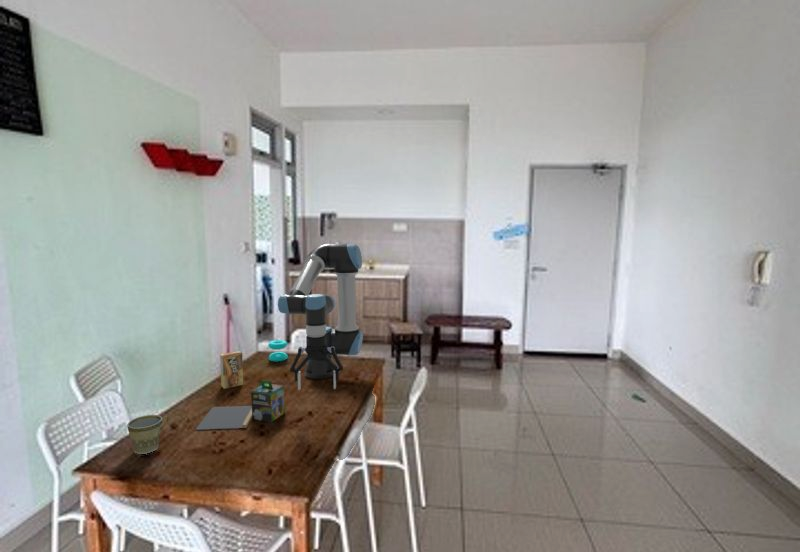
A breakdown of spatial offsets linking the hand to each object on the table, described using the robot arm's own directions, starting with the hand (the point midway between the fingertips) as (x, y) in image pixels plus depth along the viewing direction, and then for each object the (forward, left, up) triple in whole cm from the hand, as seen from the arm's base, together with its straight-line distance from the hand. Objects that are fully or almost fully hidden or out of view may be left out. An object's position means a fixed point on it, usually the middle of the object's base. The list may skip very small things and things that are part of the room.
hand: (317, 388), depth 175 cm
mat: (+34, 0, -11) cm, 35 cm away
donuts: (+28, -74, -11) cm, 80 cm away
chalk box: (+19, 0, -11) cm, 22 cm away
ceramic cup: (+53, +22, -11) cm, 58 cm away
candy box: (+42, -35, -11) cm, 56 cm away
